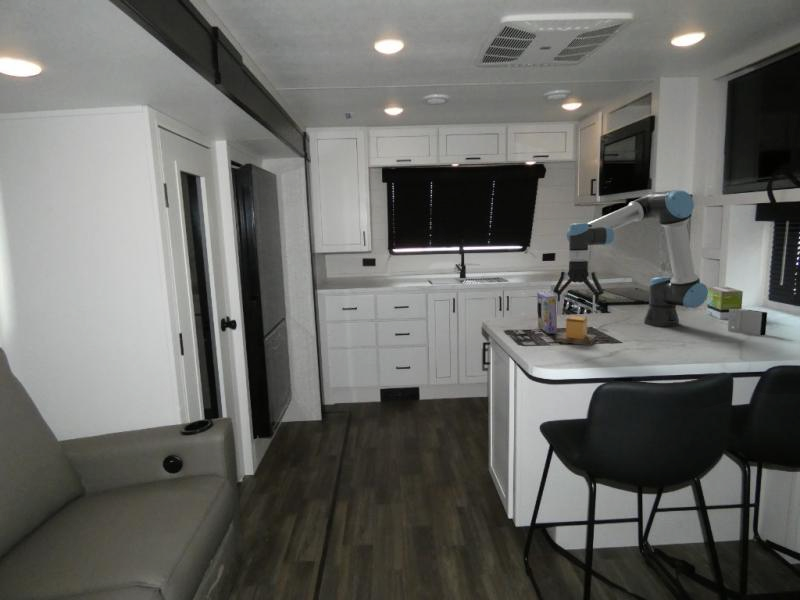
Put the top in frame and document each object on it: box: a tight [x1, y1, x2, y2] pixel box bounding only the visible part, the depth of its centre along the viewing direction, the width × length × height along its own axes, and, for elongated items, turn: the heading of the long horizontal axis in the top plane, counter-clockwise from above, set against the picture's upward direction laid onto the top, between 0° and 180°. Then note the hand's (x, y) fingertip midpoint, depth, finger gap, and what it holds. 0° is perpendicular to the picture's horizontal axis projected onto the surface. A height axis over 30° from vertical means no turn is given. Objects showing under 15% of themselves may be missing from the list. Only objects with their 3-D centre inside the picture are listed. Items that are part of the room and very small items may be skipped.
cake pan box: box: [536, 290, 558, 334], centre depth 234 cm, size 19×5×18 cm, turn 178°
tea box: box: [706, 286, 744, 320], centre depth 253 cm, size 15×10×15 cm
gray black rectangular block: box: [727, 308, 768, 336], centre depth 218 cm, size 14×5×10 cm, turn 37°
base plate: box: [555, 331, 597, 346], centre depth 212 cm, size 14×12×2 cm
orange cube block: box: [565, 315, 588, 339], centre depth 212 cm, size 7×7×8 cm
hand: (577, 310), depth 210 cm, fingers open, 13 cm apart
